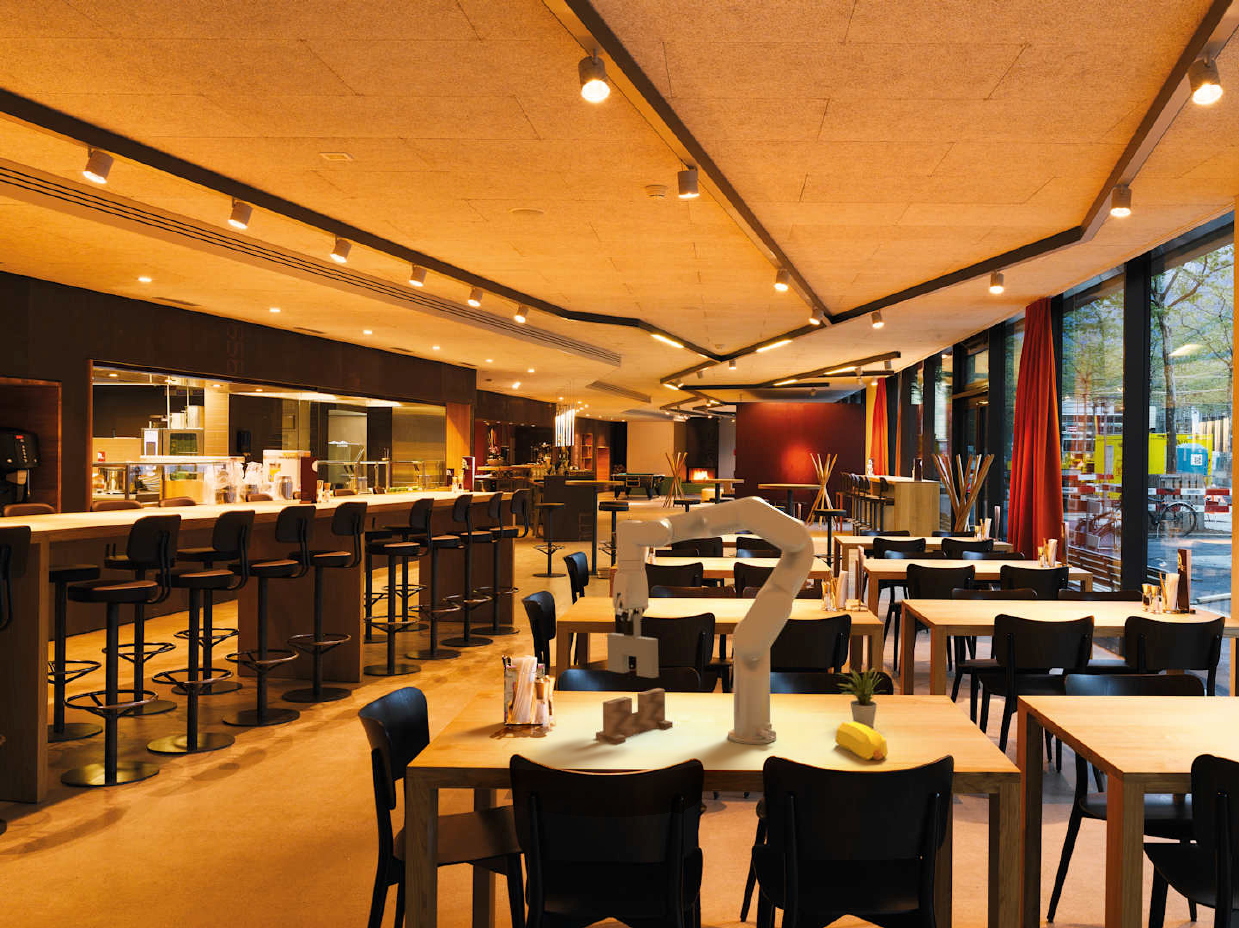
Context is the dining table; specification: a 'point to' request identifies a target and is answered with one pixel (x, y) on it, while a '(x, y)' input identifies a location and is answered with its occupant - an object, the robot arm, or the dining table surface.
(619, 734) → the walnut slotted stand
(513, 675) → the candy bar box
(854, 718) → the house plant
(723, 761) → the dining table surface
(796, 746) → the dining table surface
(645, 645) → the grey slotted plate
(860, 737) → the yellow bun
